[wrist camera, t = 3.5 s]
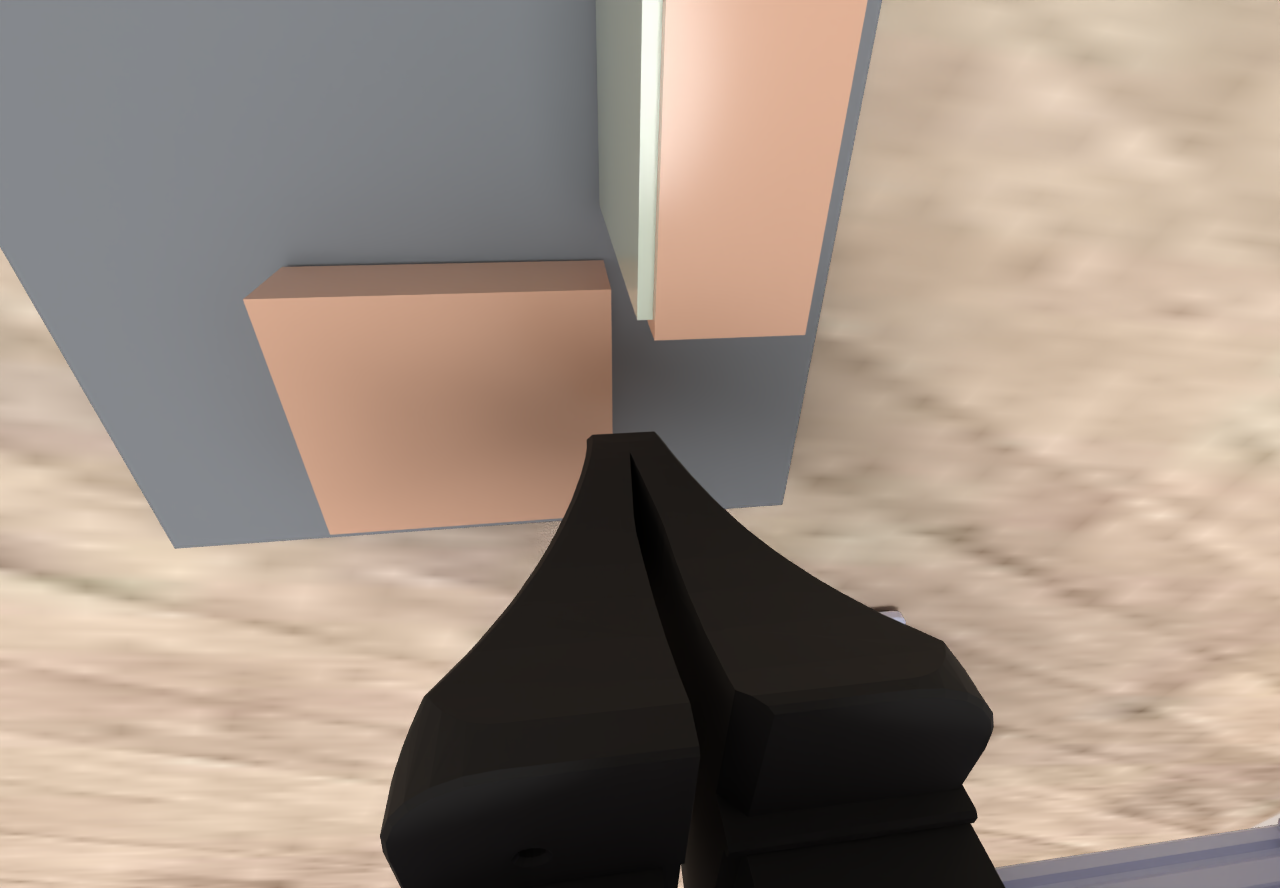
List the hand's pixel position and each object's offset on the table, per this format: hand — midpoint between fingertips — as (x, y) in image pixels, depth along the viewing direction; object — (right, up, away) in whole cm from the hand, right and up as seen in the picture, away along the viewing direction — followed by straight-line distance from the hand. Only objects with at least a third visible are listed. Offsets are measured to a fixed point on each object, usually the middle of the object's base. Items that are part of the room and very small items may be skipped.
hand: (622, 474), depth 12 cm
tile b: (+1, +8, 0) cm, 8 cm away
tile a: (0, +2, +3) cm, 3 cm away
